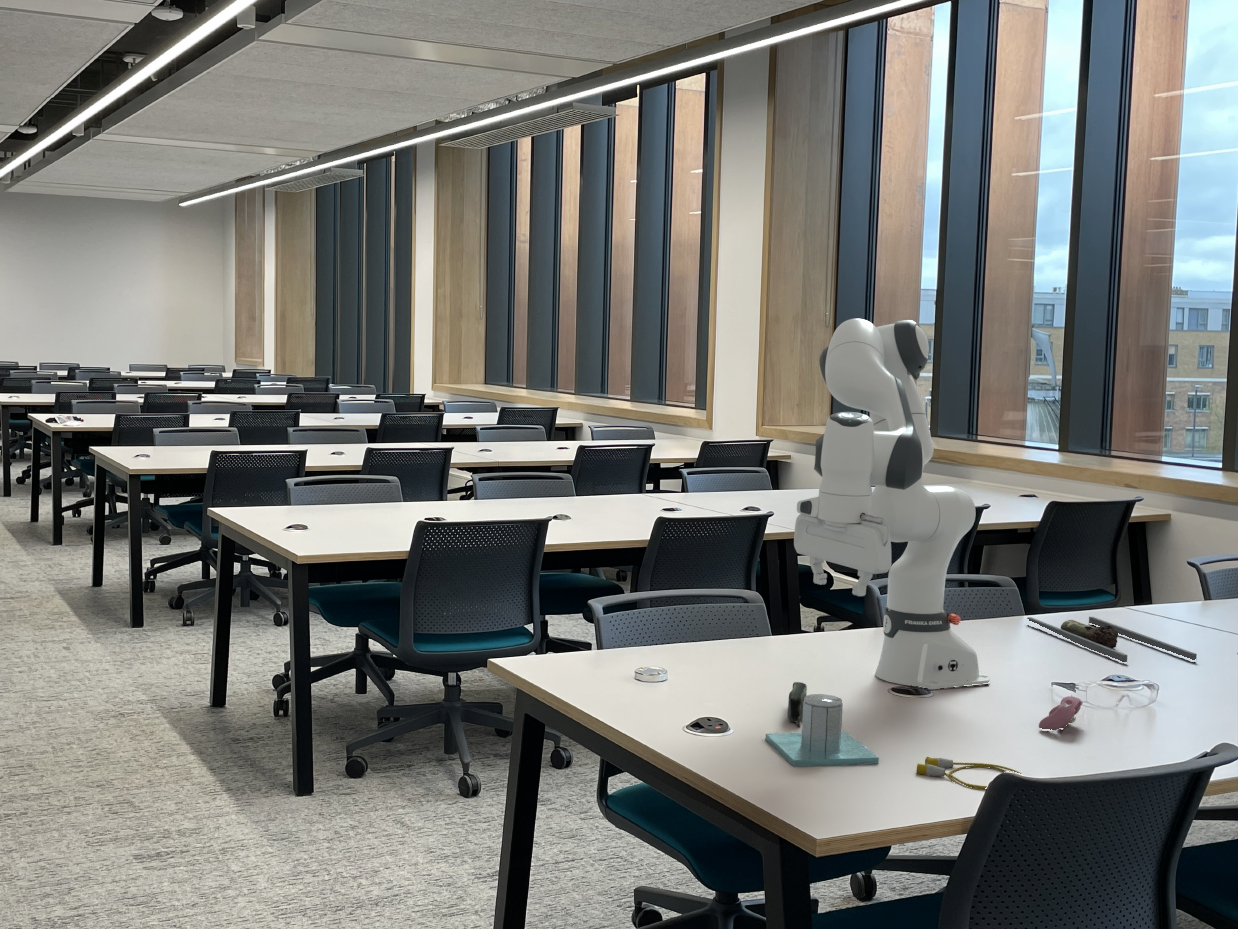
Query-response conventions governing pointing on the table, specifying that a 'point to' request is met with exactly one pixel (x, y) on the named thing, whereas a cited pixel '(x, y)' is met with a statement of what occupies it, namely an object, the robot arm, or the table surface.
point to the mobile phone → (796, 702)
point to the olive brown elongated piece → (1093, 633)
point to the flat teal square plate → (802, 756)
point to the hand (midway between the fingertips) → (838, 589)
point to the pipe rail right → (1144, 638)
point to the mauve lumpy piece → (1062, 714)
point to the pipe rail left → (1083, 641)
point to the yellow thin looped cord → (935, 769)
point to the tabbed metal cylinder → (822, 722)
